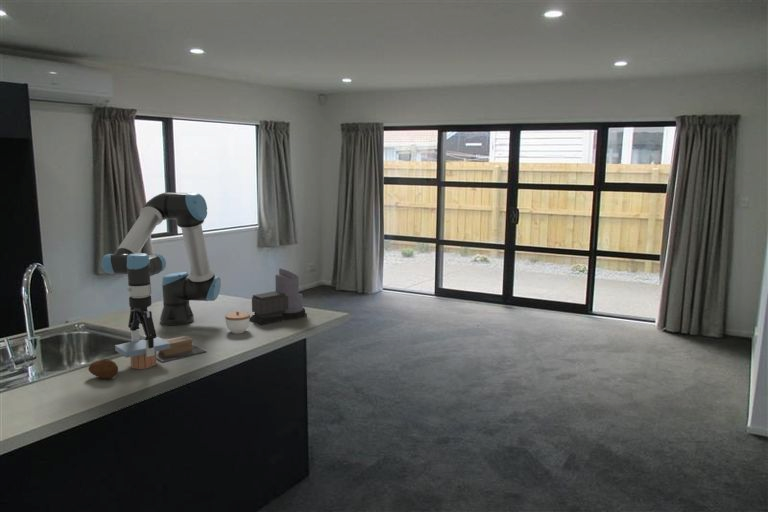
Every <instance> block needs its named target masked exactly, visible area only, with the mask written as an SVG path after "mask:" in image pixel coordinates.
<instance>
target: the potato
mask: <svg viewBox="0 0 768 512" xmlns="http://www.w3.org/2000/svg"><path fill="white" fill-rule="evenodd" d="M88 371H89V373H90V374H92V375H93V376H95V377H97V378H101V379H105V380H109V379H112V378H115V376H116V375H117V374H118V372H119V367H118V365H117V364H116V362H114V361H113V360H111V359H107V358H102V359H99V360H96V361H94V362H92V363H91V364H89V367H88Z"/></svg>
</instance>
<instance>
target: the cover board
mask: <svg viewBox="0 0 768 512" xmlns="http://www.w3.org/2000/svg"><path fill="white" fill-rule="evenodd" d="M165 340H166V339H163V338H161V337H160V336H156V338H154V352H156V351H161V350H165V349H170V343H169V342H167V341H165ZM114 349H115V352H117V353H119V354H120V355H121V356H123V357H124V358H127V359H128V358H131V357H133V356H138V355H142V354H146V341H145V339H140V340H139V341H134V342H132V341H129V342H124V343H120V344H115V345H114Z"/></svg>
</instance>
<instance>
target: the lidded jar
mask: <svg viewBox="0 0 768 512" xmlns="http://www.w3.org/2000/svg"><path fill="white" fill-rule="evenodd" d="M224 317H225V324H226V328H227V329H228V330H229V331H230V333H232V334H243V333H245V332H246V331H247V329H249V326H250V323H251V322H250V317H251V314H250V313H249V312H246V311H240V310H237V311H234V312H233V311H232V312H228V313H227V314H226V315H225V316H224Z"/></svg>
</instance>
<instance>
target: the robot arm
mask: <svg viewBox="0 0 768 512" xmlns="http://www.w3.org/2000/svg"><path fill="white" fill-rule="evenodd" d="M207 210H208V206H207V202H206V200H205V197H204V196H203V195H201V194H200V193H196V192H195V193H194V192H192V191H191V192H168V191H167V192H163V193H159V194H157V195H155V196H153V197H152V198H150V199H149V200H148V201H147V202H146V203H144V205H143V206H142V208H141V209H140V210H139V216H138V218H137V219H136V221H135V222H134V224H133V225H132V227H131V228H130V230H129V231H128V233H127V234H126V236H125V237H124V239H123V240H122V241H121V243H120V244H119V246H118V247H117V249H116V250H115V251H114V253H108V254H104V255H103V257H102V259H101V268H102V270H103V271H104V272H105V274H109V275H110V274H111V275H112V274H113V275H127V286H128V288H127V292H128V296H129V297H128V304H129V307H130V311H129V319H128V325H127V326H128V328H129V329H130V330H129V331H130V332H131V333H130V334H131V342H134V341H139V340H141V339H140V324H141V326H142V328H143V332H144V335H145V341H146V357H149V356H154V355H155V354H154V338H156V337H157V332H156V329H155V328H156V327H155V324H154V320H153V313H152V311H151V310H150V311H148V308H149V307H151V306H152V295H151V294H152V287H151V286H152V284H151V276H155V275H158V274H159V273H161V272H162V271H164V270H165V269H166V265H167V262H166V259H165V257H164V256H163V255H161V254H160V253H151V254H148V253H144V252H143V253H142V252H141V251H142V249H143V247H144V245H145V244H146V243H147V241H148V239H149V238H150V236H151V235H152V233H153V232H154V230H155V229H156V227H157V226H158V225H161V223H162V222H163V221H166V220H175V222H176V225H177V227H178V228H181V232H182V237H183V243H184V246H185V251H186V257H187V261H188V265H189V269H190V273H189V272H187V271H179V272H174V273H173V272H172V273H169V274H168V273H167V274H166V275H163V277H162V281H161V283H162V284H161V287H162V304H163V307H162V310H161V314H160V318H159V321H160V324H162V325H164V326H181V325H182V326H183V325H186V324H189V323H190V324H191V323H192V322H193V321H194V320H195V318H194V317H195V315H194V313H193V311H192V308H191V306H190V305H191V304H190V301H199V302H200V301H202V302H214V301H216V300H217V299H218V298H219V295H220V291H221V288H222V285H221V284H222V282H221V278H220V277H219V276H217V275H215V272H214V270H213V269H211V268H210V267H211V266H210V262H209V258H208V257H209V256H208V252H207V245H206V241H205V236H204V232H203V224H204V222H205V219H206V218H207V217H208V211H207Z"/></svg>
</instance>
